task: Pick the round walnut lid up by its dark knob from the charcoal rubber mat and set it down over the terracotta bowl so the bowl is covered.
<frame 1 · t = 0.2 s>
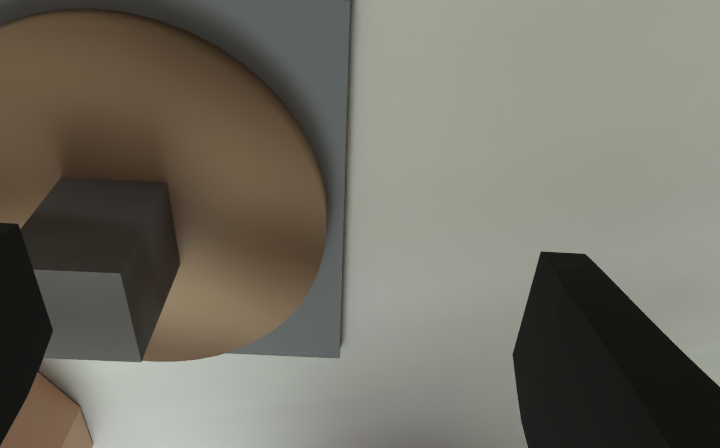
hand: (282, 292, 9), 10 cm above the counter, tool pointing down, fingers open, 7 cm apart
lid: (134, 204, 19), resting on mat
mat: (138, 195, 20), on the counter
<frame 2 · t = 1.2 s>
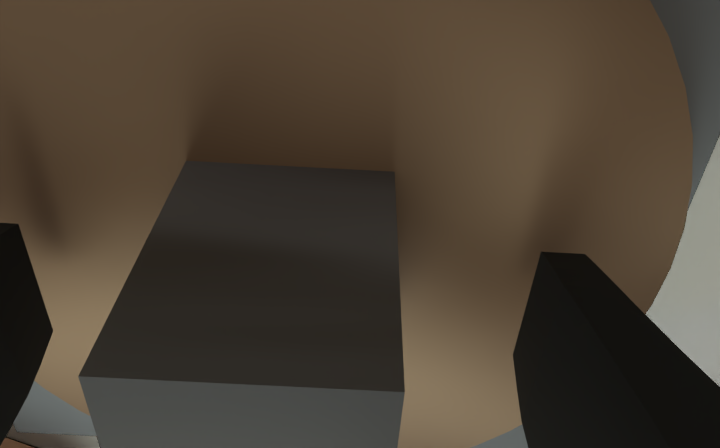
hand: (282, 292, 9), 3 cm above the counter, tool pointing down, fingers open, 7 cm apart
lid: (298, 213, 11), resting on mat
mat: (301, 197, 11), on the counter
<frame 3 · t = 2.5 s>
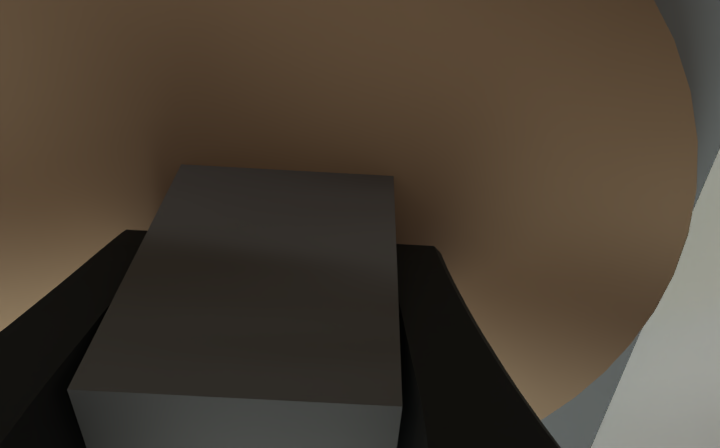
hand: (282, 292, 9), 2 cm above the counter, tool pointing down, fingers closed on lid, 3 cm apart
lid: (296, 216, 11), resting on mat, touching gripper
mat: (299, 200, 11), on the counter
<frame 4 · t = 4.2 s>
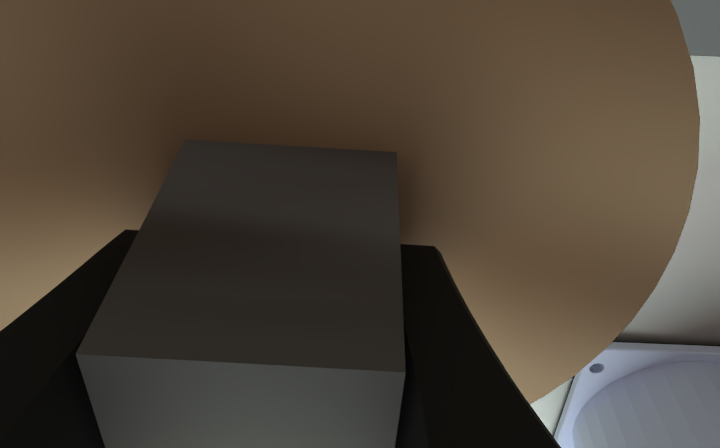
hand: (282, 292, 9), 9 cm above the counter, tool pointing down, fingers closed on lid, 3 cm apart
lid: (299, 194, 11), point 7 cm above the counter, touching gripper
when the fingers open (7 cm above the counter, at t = 5.9 s): lid stays where it is, resting on bowl.
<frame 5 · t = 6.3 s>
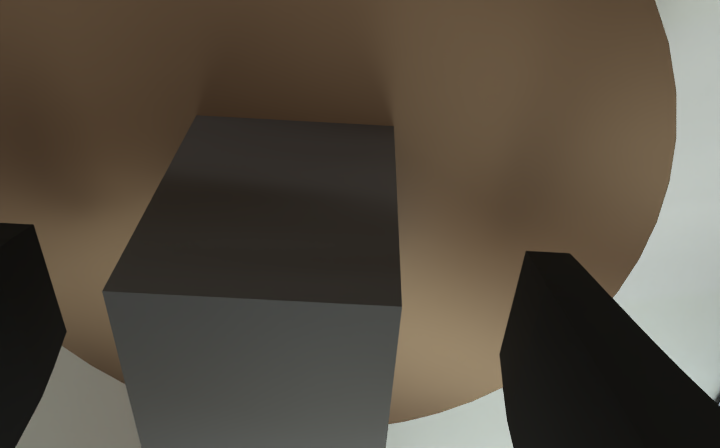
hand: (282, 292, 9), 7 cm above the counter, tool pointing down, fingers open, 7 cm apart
milk: (178, 442, 23), on the counter
lid: (302, 172, 11), point 4 cm above the counter, touching bowl
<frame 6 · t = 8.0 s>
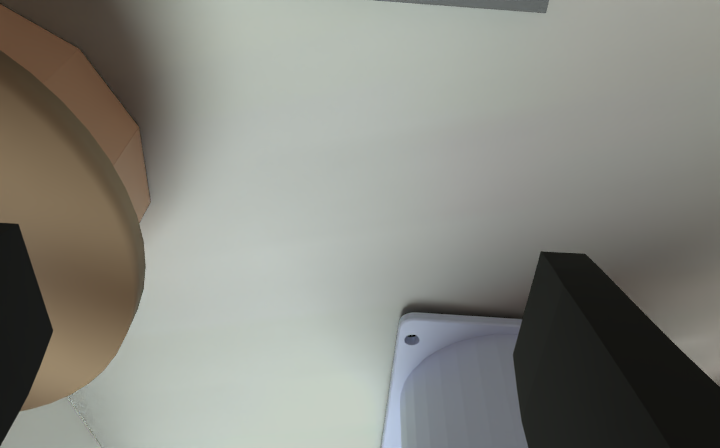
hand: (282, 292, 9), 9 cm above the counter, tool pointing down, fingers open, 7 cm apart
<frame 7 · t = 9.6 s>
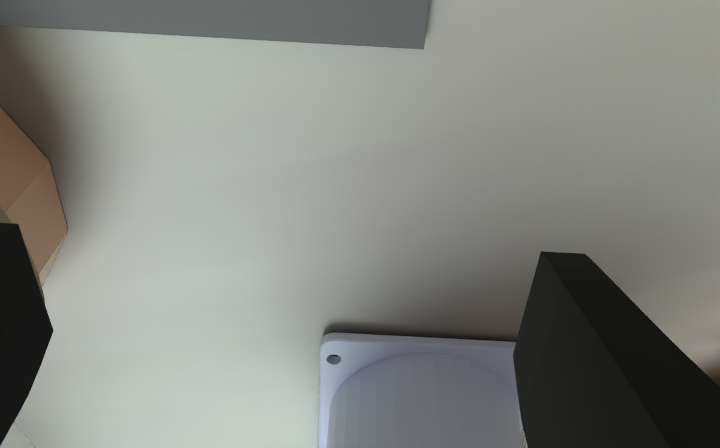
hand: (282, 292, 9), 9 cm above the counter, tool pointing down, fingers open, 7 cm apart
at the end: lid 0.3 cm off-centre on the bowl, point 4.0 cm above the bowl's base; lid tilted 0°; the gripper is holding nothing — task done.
